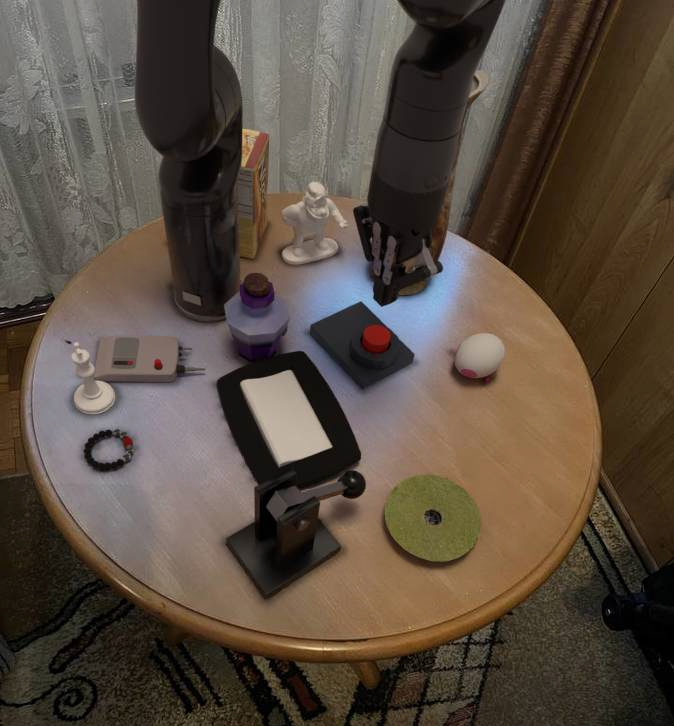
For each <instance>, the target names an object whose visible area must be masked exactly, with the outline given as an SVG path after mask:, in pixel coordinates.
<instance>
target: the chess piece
mask: <svg viewBox="0 0 674 726" xmlns="http://www.w3.org/2000/svg"><path fill="white" fill-rule="evenodd" d="M73 345H74V348H75V351H73V352H72V354H71V360H72V362H73V363H74V364H75V365H76V367H75V374H76V375H77V376H78V377H80V378H82V380H83V384H81V385H80V386H78V388H77V389H76V390H75V392H74V395H73V403H74V406H75V407H76V409H77V410H78V411H80V412H81V413H83V414H86V415H98V414H103V413H105V412H107V411H108V410H110V409H111V408H112V407H113V405H114V404H115V402H116V393H115V389H114V388H113V387H112V386H111V384H109V383H108V382H106V381H95V379H94V371H95V365H93V364H92V363H91V362H90V358H91V355H90V352H89V351H88V350H86V349H81V347H80V344H79V342H78V341H77V342H73Z"/></svg>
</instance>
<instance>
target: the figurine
mask: <svg viewBox="0 0 674 726" xmlns="http://www.w3.org/2000/svg"><path fill="white" fill-rule="evenodd" d="M325 189H326V188H325V187H324V185H323V184H322V183H320V182H318V181H311V182H309V184H308V186H307V190H306V191H305V195H303V196H302V199H301V201H299V202H296V204H293V203H292V204H290V205H288V206H287V207H285V208H283V209H282V210H281V212H280V216H281V220H282V222H283V223H284V225H286V226H289V227H291V228H292V230H293V231H292V232H293V234H294V235H293V242H292V244H291V245H288V246H286V247H285V248H284V249H283V250H282V252H281V258H282V260H283V262H285V263H286V264H288V265H294V266H298V265H299V266H300V265H304V264H309V263H312V262H317V261H320V260H324V259H327V258H331V257H333V256H335V255H336V254H337V253H338V250H339V245H338V243H337V242H336V241H335V240H334V239H333V238H329V237H325V236H326V235H325V228H326V225H327V223H328V218H329V217H330V218H331V219H332V221H333V222H334V223H335V224H336V225H338V227H339V228H340V229H341V230H346V229H347V228H348V227H349V224H348V221H347V220H346V219H344V217H343V215H342V214H341V211H340V210H339V209H338V207H337V205H336V204H335V202H334V201H333V200H332V199H330V198H329V197H330V195H329V194H328V191H327V190H325ZM307 236H313V239H310V240H305V241H304V239H305V237H307Z"/></svg>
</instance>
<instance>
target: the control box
mask: <svg viewBox="0 0 674 726" xmlns="http://www.w3.org/2000/svg"><path fill="white" fill-rule="evenodd" d="M371 325H380V326H383V327H385V328H386V329H387V330H388V331H389V333H390V336H391V337H390V342H389V346H388V349H387V350H386V351H385V352H383V353H380V354H373V353H370V352H368V351H366V350H365V349H364V347H363V346H362V339H363V333H364V330H365V329H366V328H367V327H369V326H371ZM309 334H310V335H311V337H312V338H313V339H314V340H315V341H316V342H317V343H318V344H319V345H320V346H321V347H322V349H324V351H325V352H326V353H327V354H328V355H329V356H330V357H331V358H332V359H333V360H334V361H335V363H336V364H338V366H339V367H340V368H341V369H342V370H343V371H344V372H345V374H346V375H348V376H349V378H351V380H352V381H353V382H354V383H355V384H356V385H357V386H358V387H359V389H361V390H364V389H366V388H368V387H370V386H372V385H373V384H375V383H377V382H379V381H381V380H382V379H384V378H386V377H388V376H390V375H392V374H394V373H396V372H397V371H399V370H401V369H403V368H405V367H407V366H408V365H411V364H412V363H413V362H414V359H415V353H414V352H413V351H412V350H411V348H410V347H408V346H407V345H406V344H405V343H404V342H403V341H402V340H401V338H399V337H398V335H397V334H396V333H395V332H394V331H393V330H392V329H391V328H389V327H388V326H387V325H386V324H385V323H384V322H383V321H382V320H381V319H380V318H379V317H378V316H377V315H376V314H375V313H374V312H372V310H371V309H370V308H369V307H368V306H367V305H366V304H365V303H364V302H363V301H360V300H359V301H358V302H356V303H353V304H352V305H350V306H347V307H346V308H343V309H341V310H339V311H337V312H335V313H333V314H331V315H328V316H326V317H324V318H322V319H320V320H317V321H315V322H313V323H311V324H310V326H309Z"/></svg>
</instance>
